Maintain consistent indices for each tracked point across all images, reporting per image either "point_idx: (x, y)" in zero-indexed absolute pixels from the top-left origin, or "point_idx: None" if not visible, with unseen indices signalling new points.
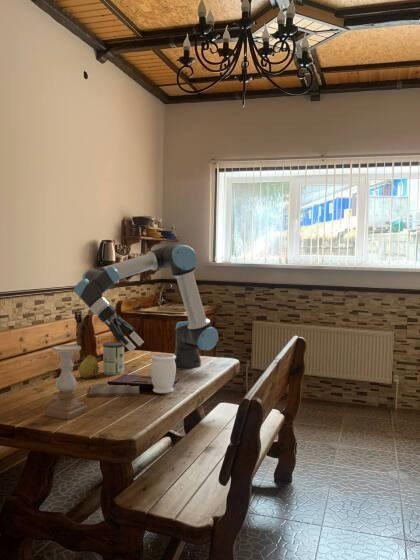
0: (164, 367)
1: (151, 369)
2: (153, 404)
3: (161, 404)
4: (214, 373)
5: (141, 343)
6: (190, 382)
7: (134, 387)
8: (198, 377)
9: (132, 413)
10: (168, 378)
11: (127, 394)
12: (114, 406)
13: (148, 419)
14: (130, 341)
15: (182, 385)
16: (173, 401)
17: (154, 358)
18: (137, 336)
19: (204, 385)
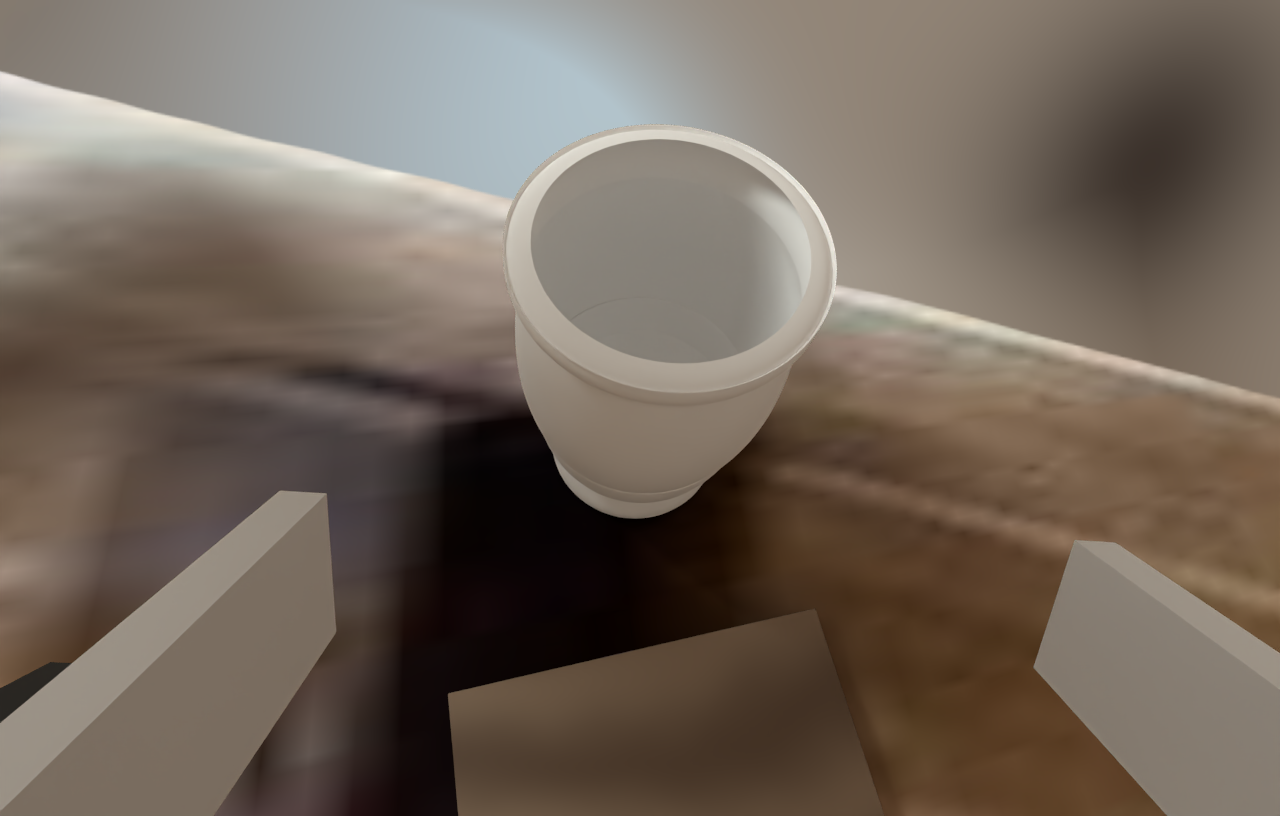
0: (788, 291)
1: (728, 449)
2: (989, 461)
3: (969, 410)
4: (74, 128)
5: (323, 561)
6: (358, 271)
7: (647, 698)
8: (192, 224)
9: (1233, 568)
10: (736, 326)
11: (848, 723)
12: None
13: (1275, 447)
14: (1264, 669)
15: (452, 319)
16: (880, 346)
17: (811, 338)
18: (180, 660)
19: (453, 189)
